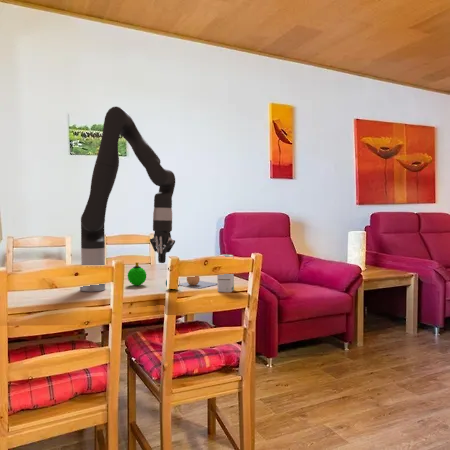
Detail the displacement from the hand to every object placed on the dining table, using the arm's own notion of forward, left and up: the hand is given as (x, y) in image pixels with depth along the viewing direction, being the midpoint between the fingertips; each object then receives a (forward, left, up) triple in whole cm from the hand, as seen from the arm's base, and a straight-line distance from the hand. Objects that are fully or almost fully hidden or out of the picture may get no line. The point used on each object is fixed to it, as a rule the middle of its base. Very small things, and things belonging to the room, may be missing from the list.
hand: (161, 262), depth 167 cm
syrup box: (+25, +1, -12) cm, 28 cm away
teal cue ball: (+4, +5, -9) cm, 11 cm away
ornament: (-13, +15, -12) cm, 23 cm away
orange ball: (+12, +14, -9) cm, 21 cm away
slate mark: (+14, +17, -12) cm, 25 cm away
